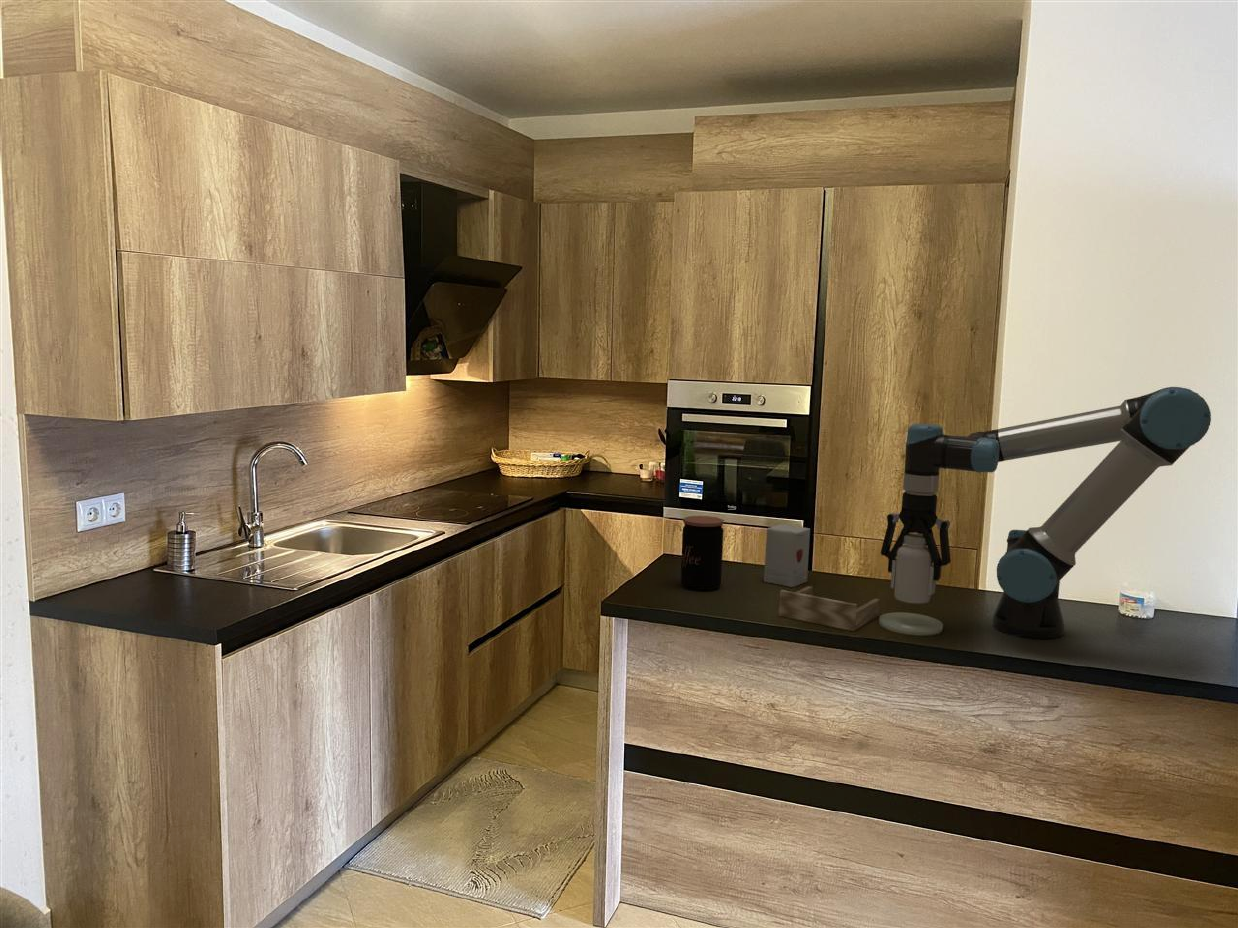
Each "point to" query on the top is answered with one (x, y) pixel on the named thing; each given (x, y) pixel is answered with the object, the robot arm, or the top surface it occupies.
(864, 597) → the top surface
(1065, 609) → the top surface
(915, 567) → the pill bottle
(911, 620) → the sage coaster
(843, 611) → the oak stall
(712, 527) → the coffee jar
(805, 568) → the supplement box
